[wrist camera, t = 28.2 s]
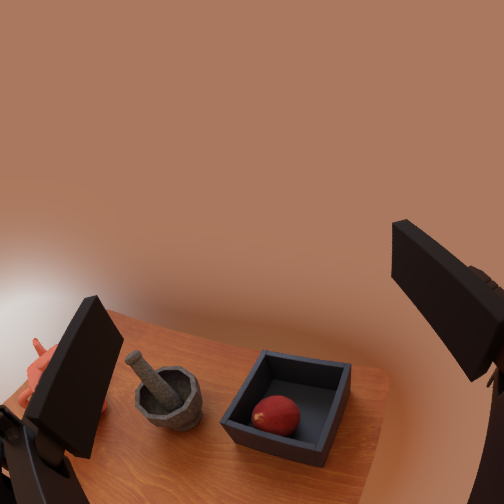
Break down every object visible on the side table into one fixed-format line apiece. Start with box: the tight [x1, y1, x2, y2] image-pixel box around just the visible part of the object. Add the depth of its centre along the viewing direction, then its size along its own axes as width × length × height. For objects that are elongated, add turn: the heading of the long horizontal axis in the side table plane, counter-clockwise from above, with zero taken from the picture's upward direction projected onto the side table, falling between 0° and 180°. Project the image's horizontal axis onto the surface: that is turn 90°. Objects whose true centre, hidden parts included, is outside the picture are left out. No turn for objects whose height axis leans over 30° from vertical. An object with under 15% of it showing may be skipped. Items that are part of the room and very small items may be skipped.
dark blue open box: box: [220, 350, 351, 468], centre depth 32 cm, size 13×13×7 cm
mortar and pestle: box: [125, 350, 202, 431], centre depth 35 cm, size 11×9×12 cm
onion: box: [252, 396, 300, 437], centre depth 30 cm, size 6×6×8 cm
